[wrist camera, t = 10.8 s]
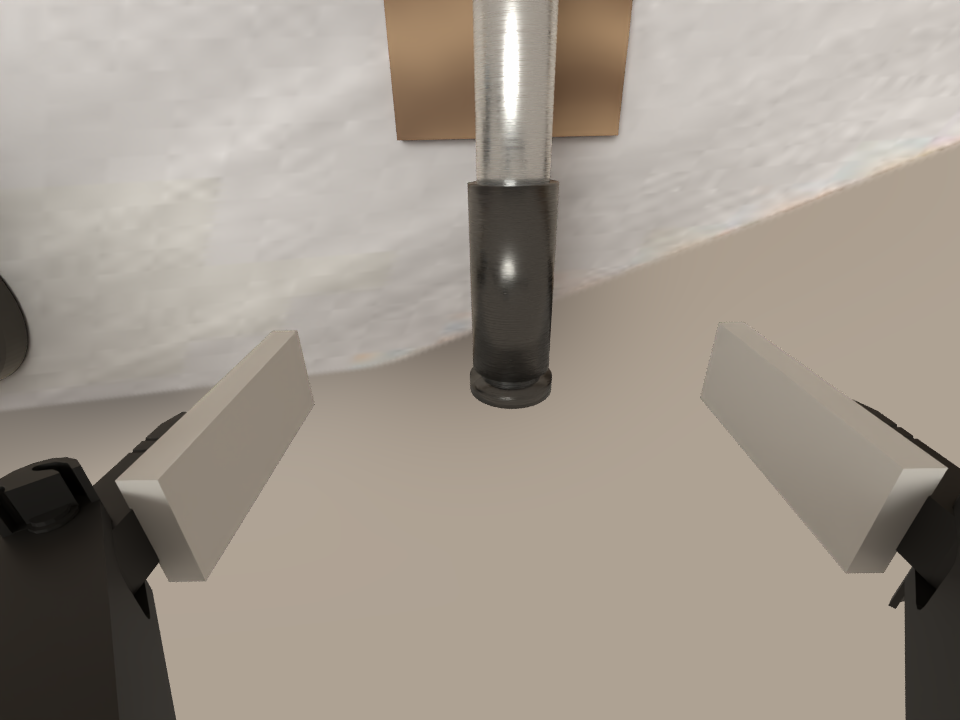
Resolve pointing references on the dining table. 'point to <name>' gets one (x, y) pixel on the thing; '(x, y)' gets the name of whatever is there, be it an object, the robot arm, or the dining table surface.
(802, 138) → the dining table surface
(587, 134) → the bearing block stand
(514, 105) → the shaft
